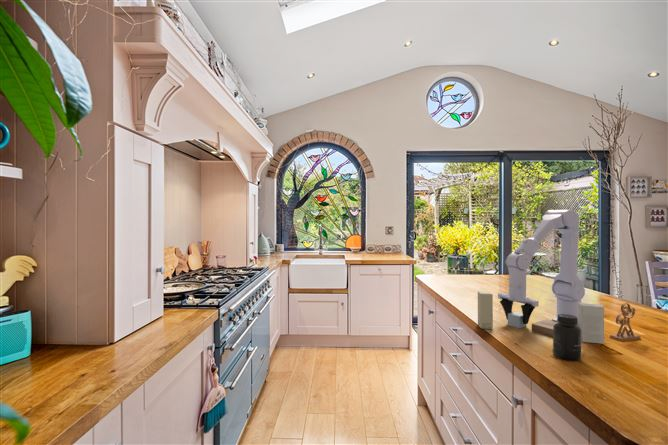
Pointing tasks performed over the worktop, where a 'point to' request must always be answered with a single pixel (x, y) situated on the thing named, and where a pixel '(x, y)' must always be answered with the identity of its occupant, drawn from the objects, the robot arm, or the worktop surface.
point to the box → (485, 310)
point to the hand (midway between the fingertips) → (517, 321)
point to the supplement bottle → (567, 338)
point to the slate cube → (516, 320)
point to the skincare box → (591, 322)
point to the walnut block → (544, 327)
